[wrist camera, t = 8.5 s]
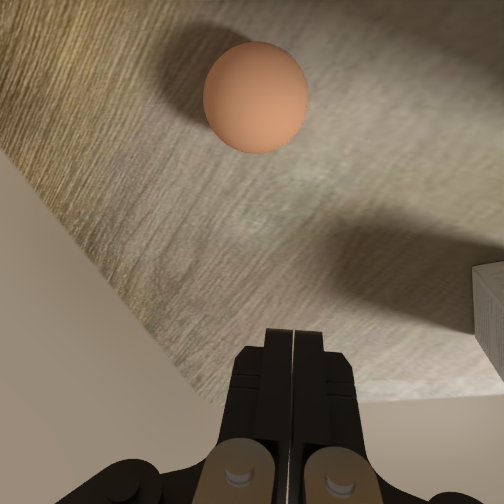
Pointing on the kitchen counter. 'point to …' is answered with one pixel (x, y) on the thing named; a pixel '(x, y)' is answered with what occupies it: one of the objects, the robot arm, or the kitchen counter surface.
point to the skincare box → (490, 311)
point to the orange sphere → (255, 97)
